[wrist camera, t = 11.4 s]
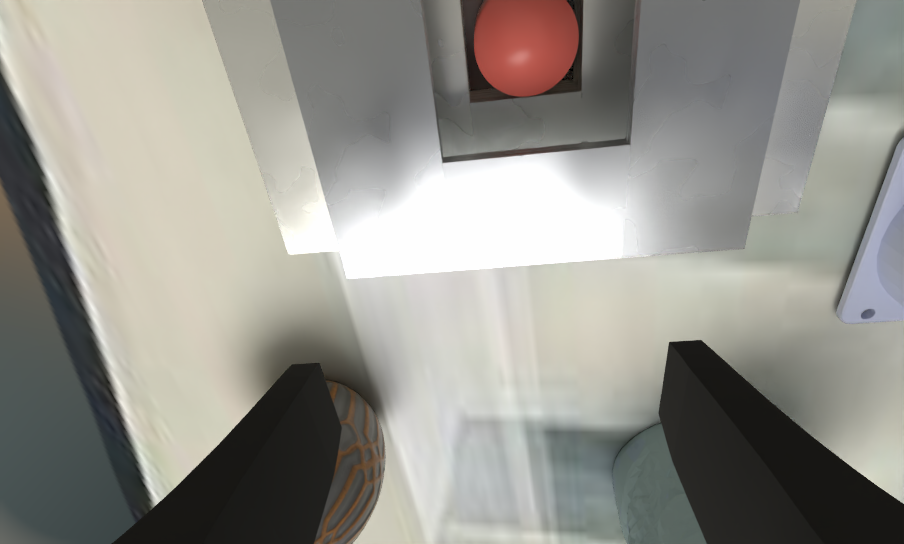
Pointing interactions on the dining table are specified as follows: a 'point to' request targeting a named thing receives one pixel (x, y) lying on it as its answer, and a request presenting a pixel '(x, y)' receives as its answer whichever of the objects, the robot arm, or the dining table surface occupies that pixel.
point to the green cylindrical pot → (652, 493)
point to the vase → (353, 469)
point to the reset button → (525, 44)
